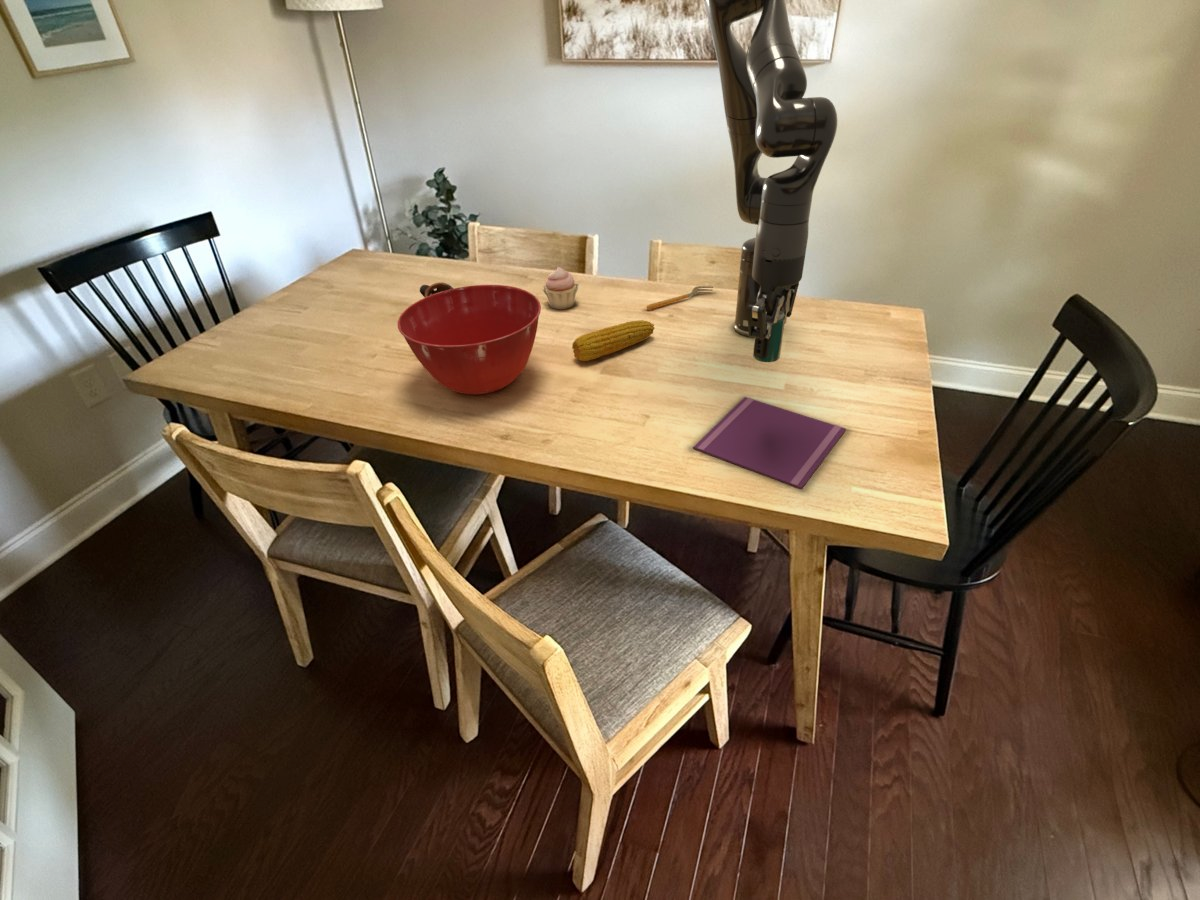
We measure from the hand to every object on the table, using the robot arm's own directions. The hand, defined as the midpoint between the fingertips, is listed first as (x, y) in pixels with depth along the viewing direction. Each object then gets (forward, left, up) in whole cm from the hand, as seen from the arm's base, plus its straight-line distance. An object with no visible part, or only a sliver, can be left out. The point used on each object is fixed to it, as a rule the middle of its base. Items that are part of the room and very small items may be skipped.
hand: (767, 350), depth 106 cm
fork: (-43, -42, -17) cm, 63 cm away
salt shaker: (0, 0, -1) cm, 1 cm away
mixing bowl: (+13, -57, -17) cm, 61 cm away
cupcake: (-26, -67, -17) cm, 74 cm away
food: (-12, -41, -17) cm, 46 cm away
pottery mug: (-7, -92, -17) cm, 94 cm away
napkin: (0, +3, -17) cm, 17 cm away
